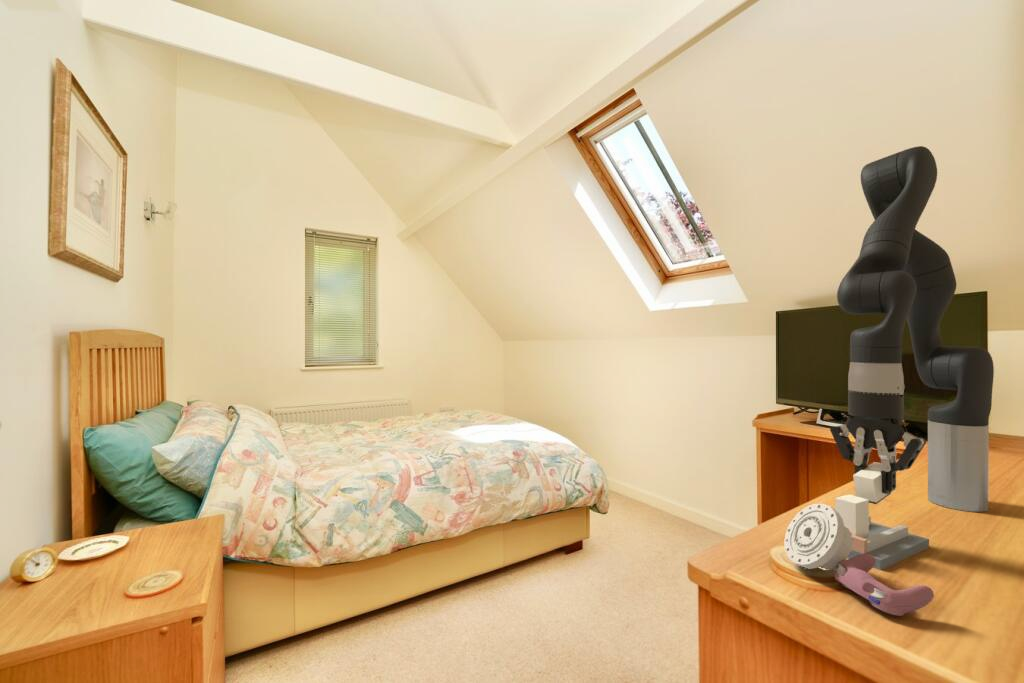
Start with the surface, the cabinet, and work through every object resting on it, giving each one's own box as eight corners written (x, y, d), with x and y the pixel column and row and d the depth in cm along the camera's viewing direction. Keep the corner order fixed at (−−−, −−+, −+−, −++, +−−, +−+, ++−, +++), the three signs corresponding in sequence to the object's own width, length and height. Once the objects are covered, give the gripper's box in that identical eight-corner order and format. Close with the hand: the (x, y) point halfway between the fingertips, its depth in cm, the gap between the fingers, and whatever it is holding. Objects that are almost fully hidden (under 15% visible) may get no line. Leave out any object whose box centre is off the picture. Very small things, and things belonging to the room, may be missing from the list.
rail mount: (854, 525, 87) (854, 479, 87) (929, 548, 77) (929, 496, 77) (804, 542, 79) (804, 492, 79) (880, 570, 70) (880, 513, 70)
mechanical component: (776, 527, 76) (822, 490, 72) (799, 542, 76) (847, 506, 72) (791, 576, 68) (845, 536, 63) (818, 593, 67) (874, 555, 63)
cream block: (873, 461, 83) (853, 475, 79) (894, 465, 80) (873, 479, 77) (876, 486, 83) (856, 500, 80) (897, 491, 80) (876, 506, 77)
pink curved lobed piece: (866, 583, 67) (821, 578, 66) (871, 552, 67) (826, 547, 66) (934, 627, 57) (881, 621, 56) (940, 590, 57) (887, 584, 56)
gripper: (819, 386, 84) (819, 482, 84) (915, 394, 72) (915, 506, 72) (842, 384, 88) (841, 476, 88) (937, 392, 75) (936, 498, 75)
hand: (874, 489), depth 80 cm, fingers closed on cream block, 3 cm apart
